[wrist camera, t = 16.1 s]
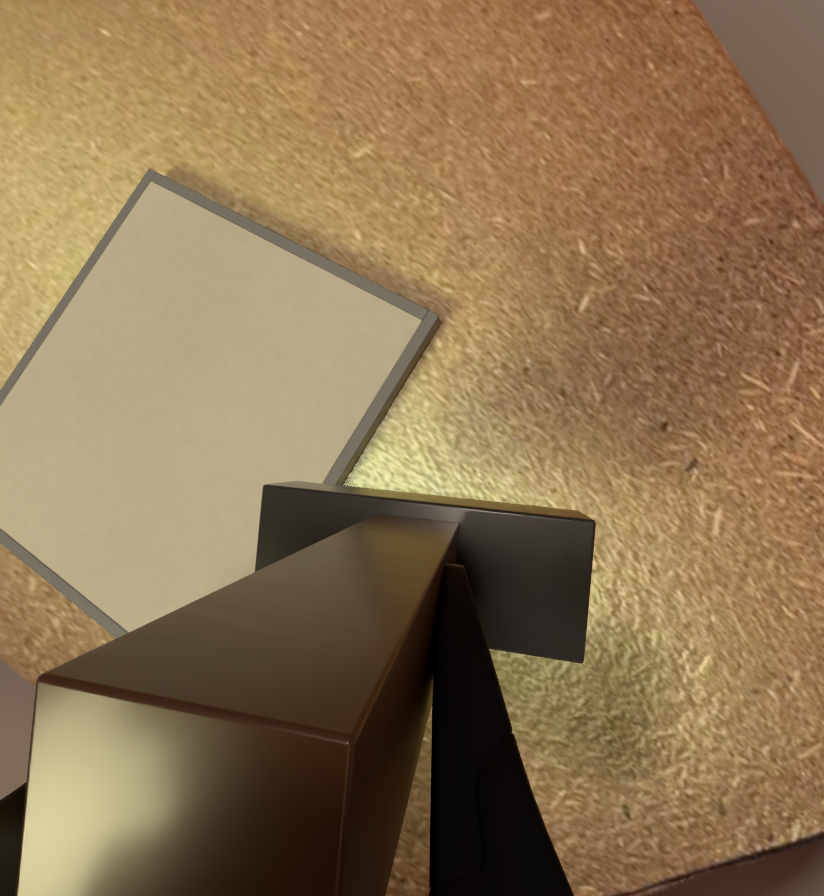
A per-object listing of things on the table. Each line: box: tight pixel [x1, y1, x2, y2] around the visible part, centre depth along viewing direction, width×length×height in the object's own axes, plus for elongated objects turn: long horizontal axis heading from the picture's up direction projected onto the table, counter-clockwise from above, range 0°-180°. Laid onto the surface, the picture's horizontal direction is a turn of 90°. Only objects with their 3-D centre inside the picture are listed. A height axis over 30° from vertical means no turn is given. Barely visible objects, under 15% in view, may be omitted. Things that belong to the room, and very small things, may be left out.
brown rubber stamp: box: [15, 481, 596, 896], centre depth 10 cm, size 4×10×13 cm, turn 84°
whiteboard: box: [0, 169, 441, 638], centre depth 25 cm, size 22×20×1 cm
